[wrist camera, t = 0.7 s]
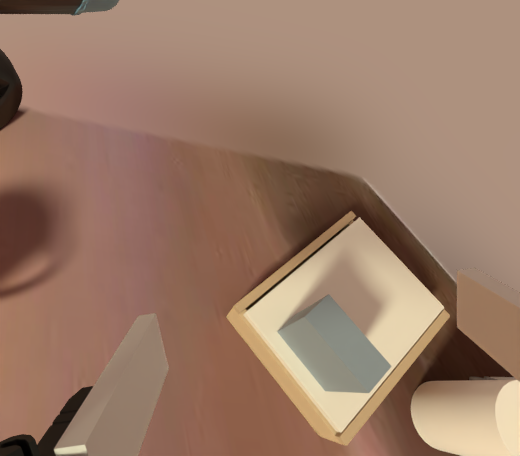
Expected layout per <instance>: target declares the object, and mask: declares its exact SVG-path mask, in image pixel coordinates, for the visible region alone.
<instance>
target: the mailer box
mask: <svg viewBox="0 0 520 456" xmlns="http://www.w3.org/2000/svg"><path fill="white" fill-rule="evenodd" d="M355 217H356V215H355V214H354V213H353V212H352V211H350V212H349V213H348V214H346V215H345V216H344V217H343V218H342V219H340V220H339V221H338V222H337V223H335V224H334V225H333V226H332V227H330V228H329V229H328V230H327V231H325V232H324V233H323V234H322V235H321V236H319V237H318V238H317V239H316V240H314V241H313V242H312V243H311V244H309V245H308V246H307V247H306V248H304V249H303V250H302V251H301V252H299V253H298V254H297V255H296V256H295V257H293V258H292V259H291V260H290V261H288V262H287V263H286V264H285V265H283V266H282V267H281V268H280V269H278V270H277V271H276V272H275V273H274V274H272V275H271V276H270V277H269V278H267V279H266V280H265V281H264V282H262V283H261V284H260V285H259V286H257V287H256V288H255V289H254V290H253V291H251V292H250V293H249V294H248V295H246V296H245V297H244V298H243V299H241V300H240V301H239V302H238V303H236V304H235V305H234V306H233V308H232V309H231V311H230V312H229V314H228V315H227V317H226V318H227V319H228V320H229V321H230V323H231V324H232V325H233V327H234V328H235V329H236V330H237V332H238V333H239V334H240V336H241V337H242V338H243V339H244V341H245V342H246V343H247V344H248V346H249V347H250V348H251V350H252V351H253V352H254V353H255V355H256V356H257V357H258V359H259V360H260V361H261V362H262V364H263V365H264V366H265V367H266V369H267V370H268V371H269V373H270V374H271V375H272V376H273V378H274V379H275V380H276V382H277V383H278V384H279V385H280V387H281V388H282V389H283V390H284V392H285V393H286V394H287V396H288V397H289V398H290V399H291V401H292V402H293V403H294V405H295V406H296V407H297V408H298V410H299V411H300V412H301V413H302V415H303V416H304V417H305V419H306V420H307V421H308V422H309V424H310V425H311V426H312V428H313V429H314V430H315V431H316V433H317V434H318V435H319V436H320V437H323V438H326V439H329V440H331V441H334V442H337V443H340V444H342V445H345V446H347V445H348V444H349V442H350V441H351V440H352V438H353V437H354V436H355V435H356V433H357V432H358V431H359V430H360V428H361V427H362V426H363V425H364V423H365V422H366V421H367V420H368V418H369V417H370V416H371V415H372V413H373V412H374V411H375V410H376V408H377V407H378V406H379V405H380V403H381V402H382V401H383V400H384V398H385V397H386V396H387V395H388V393H389V392H390V391H391V390H392V388H393V387H394V386H395V385H396V383H397V382H398V381H399V380H400V378H401V377H402V376H403V375H404V373H405V372H406V371H407V370H408V368H409V367H410V366H411V365H412V363H413V362H414V361H415V360H416V358H417V357H418V356H419V355H420V353H421V352H422V351H423V350H424V348H425V347H426V346H427V344H428V343H429V342H430V341H431V339H432V338H433V337H434V336H435V334H436V333H437V332H438V331H439V329H440V328H441V327H442V326H443V324H444V323H445V322H446V321H447V319H448V318H449V317H450V315H449V314H448V313H447V312H446V311H445V310H442V311H441V312H440V313H439V314H438V316H437V317H436V318H435V319H434V321H433V322H432V323H431V324H430V325H429V327H428V328H427V329H426V330H425V331H424V333H423V334H422V335H421V336H420V338H419V339H418V340H417V341H416V342H415V344H414V345H413V346H412V347H411V348H410V350H409V351H408V352H407V353H406V355H405V356H404V357H403V358H402V359H401V361H400V362H399V363H398V364H397V366H396V367H395V368H394V369H393V370H392V372H391V373H390V374H389V375H388V376H387V378H386V379H385V380H384V381H383V383H382V384H381V385H380V386H379V387H378V389H377V390H376V391H375V392H374V393H373V395H372V396H371V397H370V398H369V400H368V401H367V402H366V403H365V404H364V406H363V407H362V408H361V409H360V410H359V412H358V413H357V414H356V415H355V417H354V418H353V419H352V420H351V421H350V423H349V424H348V425H347V426H346V427H345V429H344V430H343V431H342V432H341V433H340V432H337V431H335V429H334V428H333V427H332V426H331V424H330V423H329V422H328V421H327V419H326V418H325V417H324V416H323V414H322V413H321V412H320V411H319V409H318V408H317V407H316V406H315V404H314V403H313V402H312V401H311V399H310V398H309V397H308V396H307V394H306V393H305V392H304V390H303V389H302V388H301V387H300V385H299V384H298V383H297V382H296V380H295V379H294V378H293V377H292V375H291V374H290V373H289V372H288V370H287V369H286V368H285V367H284V365H283V364H282V363H281V362H280V360H279V359H278V358H277V357H276V355H275V354H274V353H273V352H272V350H271V349H270V348H269V347H268V345H267V344H266V343H265V341H264V340H263V339H262V338H261V336H260V335H259V334H258V333H257V331H256V330H255V329H254V328H253V326H252V325H251V324H250V323H249V321H248V320H247V319H246V318H245V316H244V314H245V312H247V311H248V310H249V309H250V308H251V307H253V306H254V305H255V304H256V303H257V302H259V301H260V300H261V299H262V298H263V297H265V296H266V295H267V294H268V293H269V292H271V291H272V290H273V289H274V288H275V287H277V286H278V285H279V284H280V283H281V282H283V281H284V280H285V279H286V278H287V277H289V276H290V275H291V274H292V273H293V272H295V271H296V270H297V269H298V268H299V267H301V266H302V265H303V264H304V263H305V262H307V261H308V260H309V259H310V258H311V257H313V256H314V255H315V254H316V253H317V252H319V251H320V250H321V249H322V248H323V247H325V246H326V245H327V244H328V243H329V242H331V241H332V240H333V239H334V238H335V237H336V236H338V235H339V234H340V233H341V232H342V231H344V230H345V229H346V228H347V227H348V226H350V225H351V224H352V223H353V222H354V221H353V219H354V218H355Z"/></svg>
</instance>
